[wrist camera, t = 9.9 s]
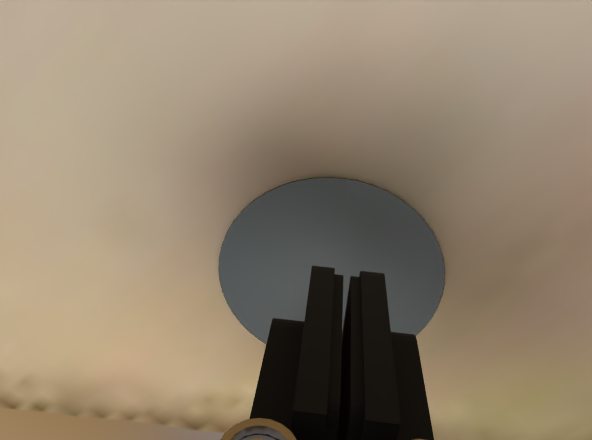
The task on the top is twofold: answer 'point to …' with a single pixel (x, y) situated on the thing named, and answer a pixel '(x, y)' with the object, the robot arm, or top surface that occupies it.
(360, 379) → the robot arm
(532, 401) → the top surface
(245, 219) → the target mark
